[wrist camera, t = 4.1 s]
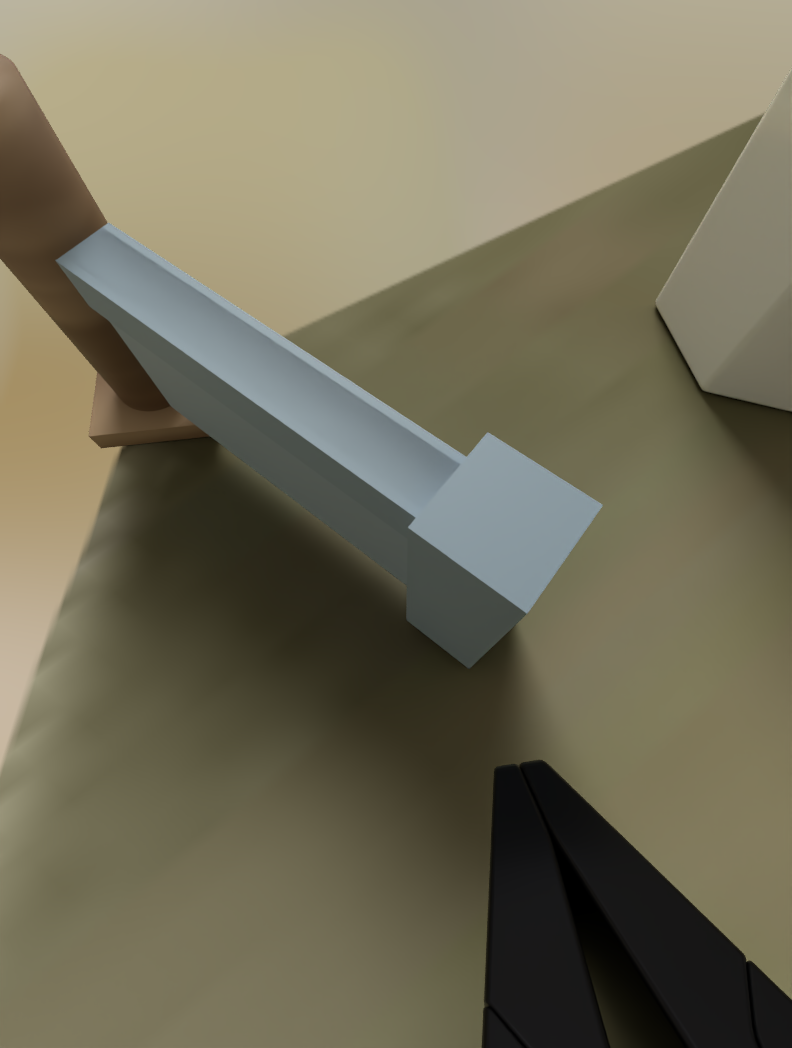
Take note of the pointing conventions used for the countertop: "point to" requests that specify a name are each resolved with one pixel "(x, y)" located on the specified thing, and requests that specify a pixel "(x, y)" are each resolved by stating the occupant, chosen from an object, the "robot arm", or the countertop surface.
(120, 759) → the countertop surface
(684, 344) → the jar
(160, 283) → the gate
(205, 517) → the countertop surface
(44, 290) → the hinge post
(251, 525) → the countertop surface
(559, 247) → the countertop surface
